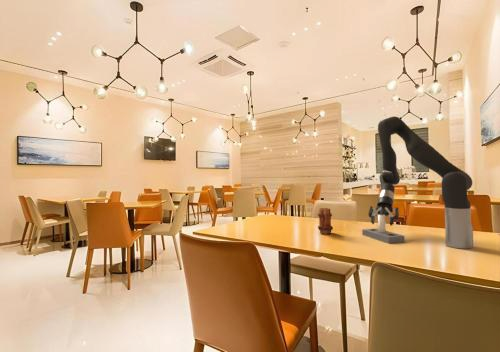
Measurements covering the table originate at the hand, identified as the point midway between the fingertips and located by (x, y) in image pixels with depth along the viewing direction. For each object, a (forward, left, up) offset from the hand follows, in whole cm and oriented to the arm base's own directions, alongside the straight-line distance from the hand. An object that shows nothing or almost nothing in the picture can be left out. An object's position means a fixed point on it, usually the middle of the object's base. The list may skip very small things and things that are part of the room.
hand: (381, 223), depth 140 cm
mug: (+22, -18, -8) cm, 29 cm away
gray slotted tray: (0, 0, -7) cm, 7 cm away
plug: (0, 0, -7) cm, 7 cm away
